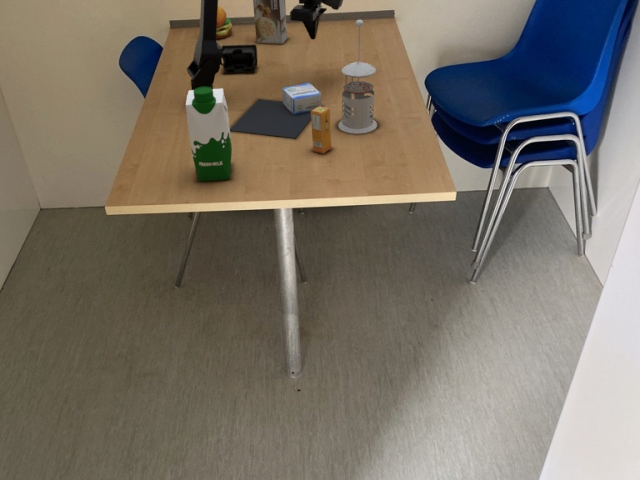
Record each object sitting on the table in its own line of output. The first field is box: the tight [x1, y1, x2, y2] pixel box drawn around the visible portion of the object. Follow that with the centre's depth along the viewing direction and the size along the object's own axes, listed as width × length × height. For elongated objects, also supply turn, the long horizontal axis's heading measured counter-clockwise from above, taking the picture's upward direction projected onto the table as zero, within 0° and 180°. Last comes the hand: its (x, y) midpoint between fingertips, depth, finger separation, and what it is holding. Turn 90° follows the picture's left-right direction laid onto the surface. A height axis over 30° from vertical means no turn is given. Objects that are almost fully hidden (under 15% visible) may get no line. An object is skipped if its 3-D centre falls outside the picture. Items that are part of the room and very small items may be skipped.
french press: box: [337, 19, 378, 135], centre depth 162 cm, size 10×12×25 cm
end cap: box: [221, 44, 258, 75], centre depth 201 cm, size 10×7×7 cm
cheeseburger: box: [198, 5, 233, 39], centre depth 225 cm, size 10×11×10 cm
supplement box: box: [310, 106, 332, 155], centre depth 158 cm, size 3×3×10 cm
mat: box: [230, 98, 311, 140], centre depth 176 cm, size 20×18×1 cm
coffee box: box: [252, 0, 289, 45], centre depth 215 cm, size 9×6×16 cm
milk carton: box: [185, 87, 233, 182], centre depth 148 cm, size 9×9×20 cm
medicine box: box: [281, 82, 323, 115], centre depth 178 cm, size 8×4×9 cm
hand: (313, 39), depth 184 cm, fingers closed
